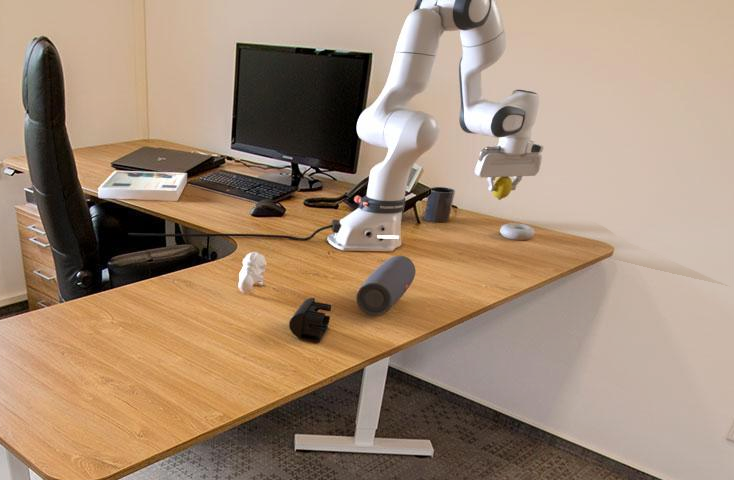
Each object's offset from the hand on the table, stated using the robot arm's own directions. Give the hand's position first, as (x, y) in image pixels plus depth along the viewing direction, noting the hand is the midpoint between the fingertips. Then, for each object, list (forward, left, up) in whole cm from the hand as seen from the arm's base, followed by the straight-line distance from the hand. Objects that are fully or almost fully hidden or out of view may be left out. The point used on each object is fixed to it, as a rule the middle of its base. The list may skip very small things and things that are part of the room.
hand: (501, 190), depth 223 cm
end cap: (-87, -74, -12) cm, 115 cm away
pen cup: (-15, +10, -12) cm, 21 cm away
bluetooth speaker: (-63, -60, -12) cm, 88 cm away
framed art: (-111, +64, -12) cm, 129 cm away
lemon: (0, 0, -3) cm, 3 cm away
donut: (+1, -12, -12) cm, 17 cm away
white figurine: (-94, -45, -12) cm, 105 cm away
